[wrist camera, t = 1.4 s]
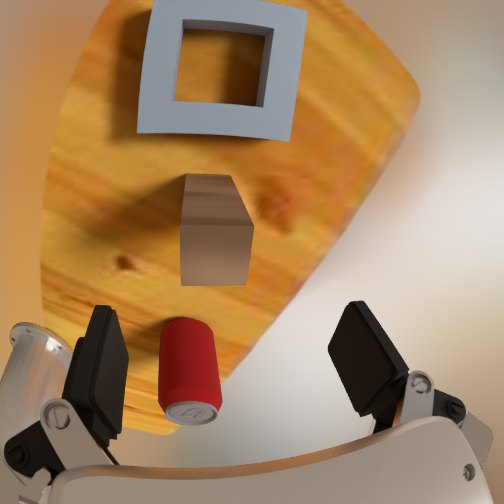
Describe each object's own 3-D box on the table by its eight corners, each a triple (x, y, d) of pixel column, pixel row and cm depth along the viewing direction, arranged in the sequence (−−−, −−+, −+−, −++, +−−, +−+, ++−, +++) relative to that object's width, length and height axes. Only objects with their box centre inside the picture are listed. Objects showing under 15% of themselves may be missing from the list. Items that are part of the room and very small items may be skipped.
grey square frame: (278, 137, 23) (289, 141, 21) (144, 129, 20) (136, 133, 18) (295, 19, 17) (307, 11, 15) (159, 6, 15) (155, -6, 12)
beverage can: (152, 337, 33) (147, 419, 23) (176, 305, 31) (176, 394, 21) (195, 354, 36) (202, 431, 26) (223, 326, 34) (238, 409, 24)
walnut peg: (226, 215, 26) (246, 285, 17) (185, 214, 25) (181, 285, 16) (230, 175, 24) (254, 226, 15) (186, 173, 23) (180, 225, 14)
